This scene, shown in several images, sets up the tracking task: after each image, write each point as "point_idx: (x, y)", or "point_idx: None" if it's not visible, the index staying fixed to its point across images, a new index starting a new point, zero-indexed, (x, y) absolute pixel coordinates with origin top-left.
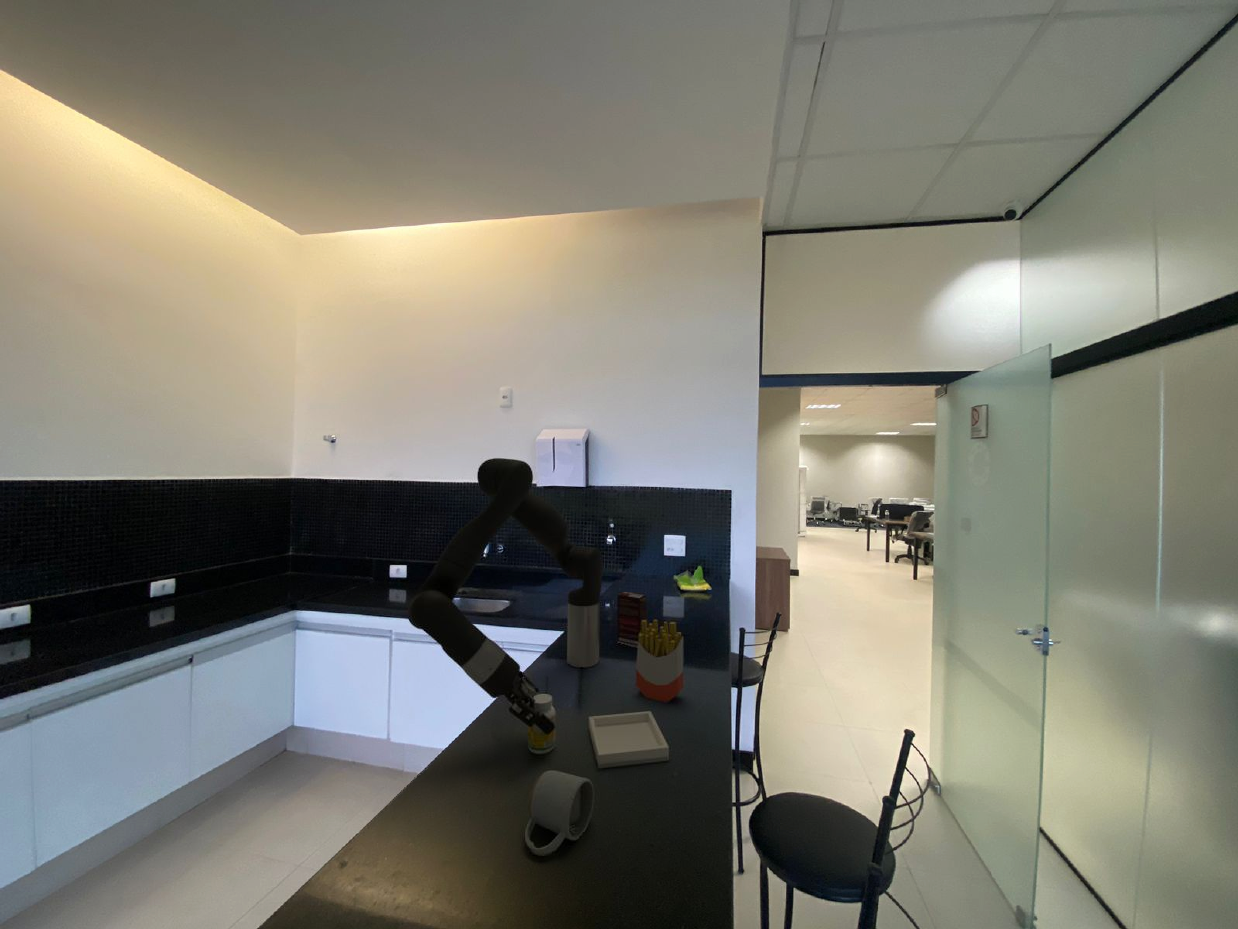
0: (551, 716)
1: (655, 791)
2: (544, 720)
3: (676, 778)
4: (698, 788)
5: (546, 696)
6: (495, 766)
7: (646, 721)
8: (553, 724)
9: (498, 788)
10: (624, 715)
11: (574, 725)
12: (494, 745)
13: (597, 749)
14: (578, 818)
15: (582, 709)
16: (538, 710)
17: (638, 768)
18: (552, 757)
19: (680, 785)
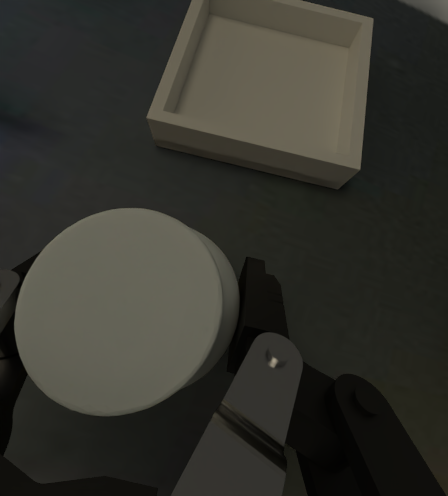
0: (228, 261)
1: (438, 118)
2: (279, 318)
3: (409, 69)
4: (443, 53)
5: (103, 249)
6: None
7: (208, 15)
8: (264, 265)
9: None
10: (190, 33)
11: (116, 174)
12: (91, 473)
13: (333, 162)
14: None
15: (41, 123)
16: (283, 378)
17: None
18: None
19: (430, 73)
